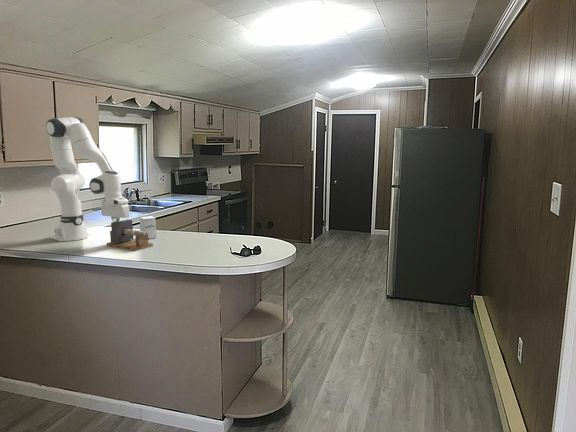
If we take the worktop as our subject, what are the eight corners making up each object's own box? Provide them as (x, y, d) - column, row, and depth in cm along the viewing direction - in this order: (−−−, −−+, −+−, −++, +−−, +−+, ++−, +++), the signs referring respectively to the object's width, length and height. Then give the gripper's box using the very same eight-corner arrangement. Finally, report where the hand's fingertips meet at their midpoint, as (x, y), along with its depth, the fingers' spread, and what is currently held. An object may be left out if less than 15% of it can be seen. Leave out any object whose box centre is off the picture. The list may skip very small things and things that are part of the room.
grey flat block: (112, 242, 254) (111, 222, 252) (128, 238, 263) (127, 219, 261) (117, 243, 252) (115, 223, 250) (133, 238, 261) (132, 220, 259)
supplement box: (144, 240, 269) (143, 218, 267) (140, 237, 275) (138, 217, 273) (157, 238, 273) (155, 217, 271) (152, 236, 279) (151, 215, 277)
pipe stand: (106, 245, 256) (105, 229, 255) (124, 241, 266) (122, 225, 265) (135, 250, 244) (134, 233, 242) (153, 246, 254) (151, 229, 252)
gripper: (97, 199, 259) (99, 223, 261) (121, 201, 248) (123, 227, 250) (106, 198, 264) (108, 221, 266) (130, 200, 253) (132, 224, 256)
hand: (116, 224), depth 258 cm, fingers closed
